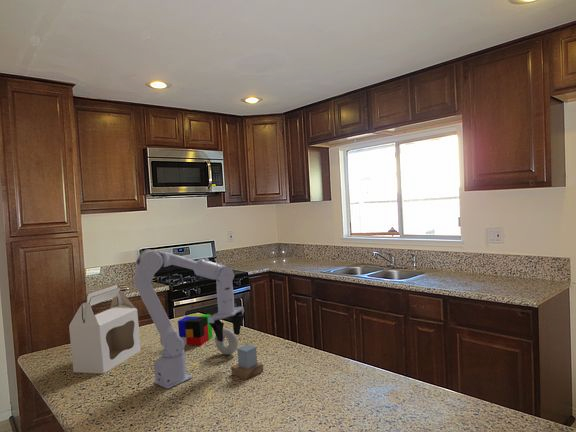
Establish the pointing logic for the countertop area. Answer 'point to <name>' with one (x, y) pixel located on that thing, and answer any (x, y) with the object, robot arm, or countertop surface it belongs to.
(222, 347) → the donut
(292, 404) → the countertop surface
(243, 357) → the grey block
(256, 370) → the walnut block
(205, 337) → the puzzle toy
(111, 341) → the gable box
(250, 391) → the countertop surface
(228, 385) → the countertop surface
